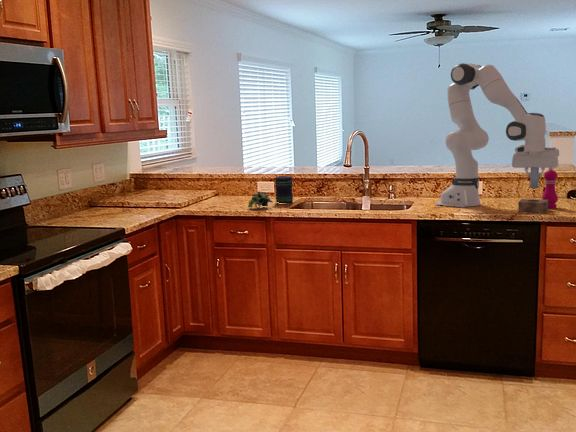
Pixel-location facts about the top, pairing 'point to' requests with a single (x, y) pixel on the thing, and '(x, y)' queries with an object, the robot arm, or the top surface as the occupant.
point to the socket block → (533, 206)
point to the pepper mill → (550, 188)
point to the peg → (534, 177)
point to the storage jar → (284, 189)
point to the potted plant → (259, 199)
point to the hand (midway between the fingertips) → (534, 177)
